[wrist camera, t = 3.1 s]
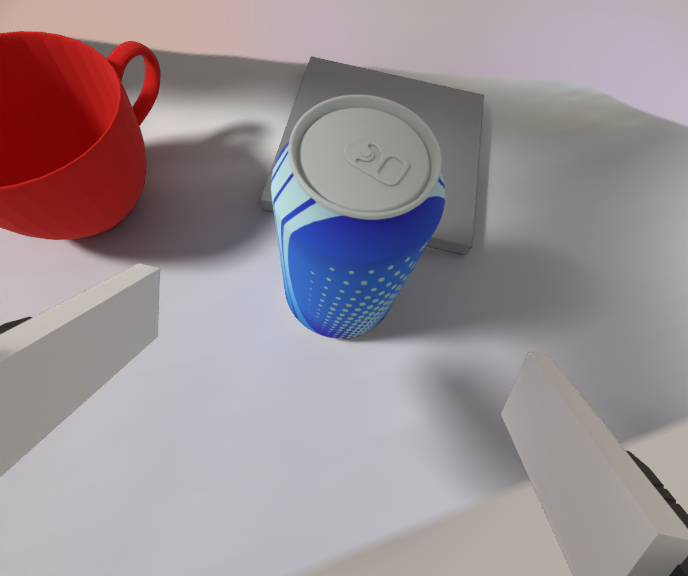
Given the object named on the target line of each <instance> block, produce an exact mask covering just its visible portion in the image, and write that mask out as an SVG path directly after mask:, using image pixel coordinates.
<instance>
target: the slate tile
mask: <svg viewBox="0 0 688 576" xmlns="http://www.w3.org/2000/svg"><path fill="white" fill-rule="evenodd" d="M344 95H371V96H377V97H381V98H385V99H388V100H391V101H394V102H396V103H398V104H400V105H402V106H404V107H406V108H408V109H409V110H411V111H412V112H414V113H415V114H416V115H418V116H419V117H420V118H421V119H422V120H423V121H424V122H425V123H426V124H427V125H428V127H429V128H430V129H431V131H432V132H433V134H434V135H435V137H436V139H437V142H438V144H439V147H440V151H441V158H442V167H441V173H442V176H443V180H444V185H445V206H444V211H443V214H442V217H441V220H440V222H439V225H438V227H437V228H436V230H435V232H434V234H433V235H432V237H431V239H430V240H429V242H428V244H427V246H428V247H432V248H437V249H441V250H446V251H450V252H455V253H459V254H464V255H465V254H466V253H467V252H468V251H469V250H470V248H471V247H472V240H473V228H474V215H475V202H476V190H477V177H478V164H479V151H480V139H481V126H482V113H483V101H484V95H481V94H477V93H472V92H468V91H463V90H459V89H454V88H450V87H445V86H441V85H436V84H432V83H427V82H423V81H418V80H414V79H410V78H405V77H401V76H396V75H392V74H387V73H383V72H378V71H374V70H369V69H365V68H360V67H356V66H351V65H347V64H342V63H338V62H333V61H328V60H324V59H320V58H316V57H311V58H310V61H309V63H308V66H307V69H306V72H305V75H304V78H303V80H302V83H301V86H300V89H299V92H298V95H297V97H296V100H295V103H294V106H293V109H292V111H291V114H290V117H289V120H288V123H287V126H286V128H285V131H284V134H283V137H282V140H281V143H280V145H279V148H278V151H277V154H276V157H275V160H274V162H273V165H272V168H271V171H270V174H269V177H268V179H267V182H266V185H265V188H264V191H263V194H262V196H261V205H262V210H266V211H271V212H274V210H273V203H272V195H271V179H272V172H273V169H274V165H275V163H276V160H277V158H278V156H279V154H280V152H281V151H282V149H283V148H284V146H285V145H286V144H287V143H288V142H289V140H290V136H291V133H292V131H293V129H294V127H295V125H296V123H297V122H298V121H299V119H300V118H301V117H302V116H303V115H304V114H305V113H306V112H307V111H308V110H310V109H311V108H312V107H314V106H315V105H317V104H319V103H321V102H323V101H326V100H328V99H331V98H335V97H339V96H344Z"/></svg>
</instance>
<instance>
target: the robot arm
mask: <svg viewBox="0 0 688 576" xmlns="http://www.w3.org/2000/svg"><path fill="white" fill-rule="evenodd" d="M159 283H160V268H157V267H152V266H148V265H144V264H139V263H138V264H136V265H134V266H132V267H130V268H128V269H127V270H125V271H123V272H121V273H119V274H117V275H115V276H113V277H111V278H109V279H107V280H105V281H103V282H101V283H99V284H97V285H95V286H93V287H92V288H90V289H88V290H86V291H84V292H82V293H80V294H78V295H76V296H74V297H72V298H70V299H68V300H66V301H64V302H62V303H60V304H58V305H57V306H55V307H53V308H51V309H49V310H47V311H45V312H43V313H41V314H39V315H37V316H35V317H27V318H23V319H20V320H16V321H12V322H9V323H5V324H3V325H1V326H0V477H1V476H2V475H3V474H4V473H5V472H7V471H8V470H9V469H10V468H11V467H12V466H13V465H14V464H16V463H17V462H18V461H19V460H20V459H21V458H22V457H23V456H25V455H26V454H27V453H28V452H29V451H30V450H31V449H32V448H34V447H35V446H36V445H37V444H38V443H39V442H40V441H41V440H42V439H44V438H45V437H46V436H47V435H48V434H49V433H50V432H51V431H53V430H54V429H55V428H56V427H57V426H58V425H59V424H60V423H62V422H63V421H64V420H65V419H66V418H67V417H68V416H69V415H70V414H72V413H73V412H74V411H75V410H76V409H77V408H78V407H79V406H81V405H82V404H83V403H84V402H85V401H86V400H87V399H88V398H90V397H91V396H92V395H93V394H94V393H95V392H96V391H97V390H98V389H100V388H101V387H102V386H103V385H104V384H105V383H106V382H107V381H109V380H110V379H111V378H112V377H113V376H114V375H115V374H116V373H118V372H119V371H120V370H121V369H122V368H123V367H124V366H125V365H127V364H128V363H129V362H130V361H131V360H132V359H133V358H134V357H135V356H137V355H138V354H139V353H140V352H141V351H142V350H143V349H144V348H146V347H147V346H148V345H149V344H150V343H151V342H152V341H153V340H155V339H156V338H157V337H158V314H159ZM501 416H502V418H503V421H504V423H505V425H506V427H507V429H508V432H509V434H510V436H511V438H512V441H513V443H514V445H515V447H516V450H517V452H518V454H519V456H520V458H521V461H522V463H523V465H524V467H525V470H526V472H527V474H528V476H529V479H530V481H531V483H532V485H533V487H534V490H535V492H536V494H537V496H538V498H539V501H540V503H541V505H542V508H543V509H544V512H545V514H546V516H547V519H548V521H549V523H550V525H551V528H552V530H553V532H554V534H555V537H556V539H557V541H558V543H559V545H560V548H561V550H562V552H563V554H564V557H565V559H566V561H567V563H568V565H569V568H570V570H571V572H572V574H573V576H688V514H686V512H685V511H684V510H683V508H682V507H681V506H680V505H679V504H676V500H675V499H674V498H673V496H672V495H671V494H670V493H669V491H668V490H667V489H664V488H663V486H664V485H663V484H662V483H661V482H660V481H659V479H658V478H657V477H656V476H655V475H654V473H653V472H652V471H651V470H650V469H649V467H647V466H646V465H645V464H644V463H643V462H641V461H640V460H639V459H638V458H637V457H635V456H634V455H633V454H632V453H631V452H629V451H626V450H624V448H623V447H622V446H621V444H620V443H619V442H618V441H617V439H616V438H615V437H614V436H613V434H612V433H611V432H610V431H609V429H608V428H607V427H606V426H605V424H604V423H603V422H602V421H601V419H600V418H599V417H598V416H597V414H596V413H595V412H594V411H593V409H592V408H591V407H590V406H589V404H588V403H587V402H586V401H585V399H584V398H583V397H582V396H581V394H580V393H579V392H578V391H577V389H576V388H575V387H574V386H573V384H572V383H571V382H570V381H569V379H568V378H567V377H566V376H565V374H564V373H563V372H562V370H561V369H560V368H559V367H558V365H557V364H556V363H555V362H554V360H553V359H552V358H551V357H550V356H546V355H541V354H537V353H533V352H528V355H527V357H526V359H525V361H524V363H523V366H522V368H521V370H520V372H519V375H518V377H517V379H516V381H515V383H514V386H513V388H512V390H511V392H510V395H509V397H508V399H507V401H506V404H505V406H504V408H503V410H502V412H501Z"/></svg>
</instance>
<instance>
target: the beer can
mask: <svg viewBox="0 0 688 576" xmlns="http://www.w3.org/2000/svg"><path fill="white" fill-rule="evenodd" d="M441 167H442V158H441V151H440V147H439V144H438V142H437V139H436V137H435V135H434V134H433V132H432V131H431V129H430V128H429V127H428V125H427V124H426V123H425V122H424V121H423V120H422V119H421V118H420V117H419V116H418V115H416V114H415V113H414V112H412V111H411V110H409V109H408V108H406V107H404V106H402V105H400V104H398V103H396V102H394V101H391V100H388V99H385V98H381V97H377V96H371V95H344V96H339V97H335V98H331V99H328V100H326V101H323V102H321V103H319V104H317V105H315V106H314V107H312V108H311V109H310V110H308V111H307V112H306V113H305V114H304V115H303V116H302V117H301V118H300V119H299V121H298V122H297V123H296V125H295V127H294V129H293V131H292V133H291V136H290V140H289V142H288V143H287V144H286V145H285V146H284V148H283V149H282V151H281V152H280V154H279V156H278V158H277V160H276V163H275V165H274V169H273V172H272V179H271V195H272V203H273V210H274V217H275V224H276V231H277V238H278V245H279V252H280V260H281V267H282V274H283V281H284V288H285V295H286V299H287V302H288V305H289V307H290V309H291V311H292V313H293V314H294V315H295V317H296V318H297V319H298V320H299V321H300V322H301V323H302V324H303V325H304V326H305V327H307V328H308V329H310V330H311V331H313V332H315V333H317V334H320V335H322V336H326V337H330V338H351V337H356V336H359V335H362V334H364V333H366V332H368V331H370V330H371V329H373V328H374V327H376V326H377V325H378V324H379V323H380V322H381V321H382V320H383V318H384V317H385V316H386V314H387V312H388V311H389V309H390V307H391V306H392V304H393V302H394V300H395V299H396V297H397V295H398V294H399V292H400V290H401V288H402V287H403V285H404V283H405V282H406V280H407V278H408V276H409V275H410V273H411V271H412V270H413V268H414V266H415V264H416V263H417V261H418V259H419V258H420V256H421V254H422V252H423V251H424V249H425V247H426V246H427V244H428V242H429V240H430V239H431V237H432V235H433V234H434V232H435V230H436V228H437V227H438V225H439V222H440V220H441V217H442V214H443V211H444V206H445V185H444V180H443V176H442V173H441Z"/></svg>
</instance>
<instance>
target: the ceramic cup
mask: <svg viewBox="0 0 688 576" xmlns="http://www.w3.org/2000/svg"><path fill="white" fill-rule="evenodd" d="M138 55H142V56H143V58H144V62H145V81H144V85H143V88H142V91H141V93H140V95H139V97H138V99H137V101H136V102H135V104H134V105H133V107H132V106H131V103H130V101H129V99H128V96H127V94H126V92H125V89H124V87H123V85H122V82H121V81H122V76H123V72H124V70H125V67H126V66H127V64H128V63H129V62H130V60H131V59H133V58H134V57H135V56H138ZM159 87H160V67H159V63H158V60H157V58H156V56H155V55H154V54H153V52H152V51H151V50H150V49H149V48H147V47H146V46H144V45H143V44H141V43H138V42H134V41H128V42H124V43H122V44H120V45H119V46H117V47H116V48H115V49H114V50H113V51H112V52H111V54H110V55H109V56H108V58H107V59H106V58H105V57H104V56H103V55H101V54H100V53H99V52H97V51H96V50H95V49H94V48H92V47H90V46H88V45H86V44H84V43H82V42H80V41H78V40H75V39H72V38H68V37H65V36H62V35H57V34H51V33H44V32H24V31H20V32H9V33H0V228H3V229H6V230H9V231H12V232H15V233H19V234H22V235H26V236H30V237H37V238H44V239H52V240H63V239H77V238H83V237H88V236H92V235H95V234H99V233H102V232H105V231H108V230H109V229H111V228H113V227H115V226H116V225H118V224H119V223H120V222H121V221H122V220H123V219H124V218H125V217H126V216H127V215H128V213H129V212H130V211H131V210H132V209H133V207H134V205H135V204H136V202H137V201H138V199H139V197H140V194H141V192H142V189H143V186H144V182H145V175H146V155H145V147H144V141H143V137H142V133H141V130H140V127H139V126H140V125H141V123H142V122H143V120H144V119H145V118H146V116H147V115H148V113H149V111H150V110H151V108H152V106H153V104H154V102H155V100H156V98H157V95H158V91H159Z"/></svg>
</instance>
